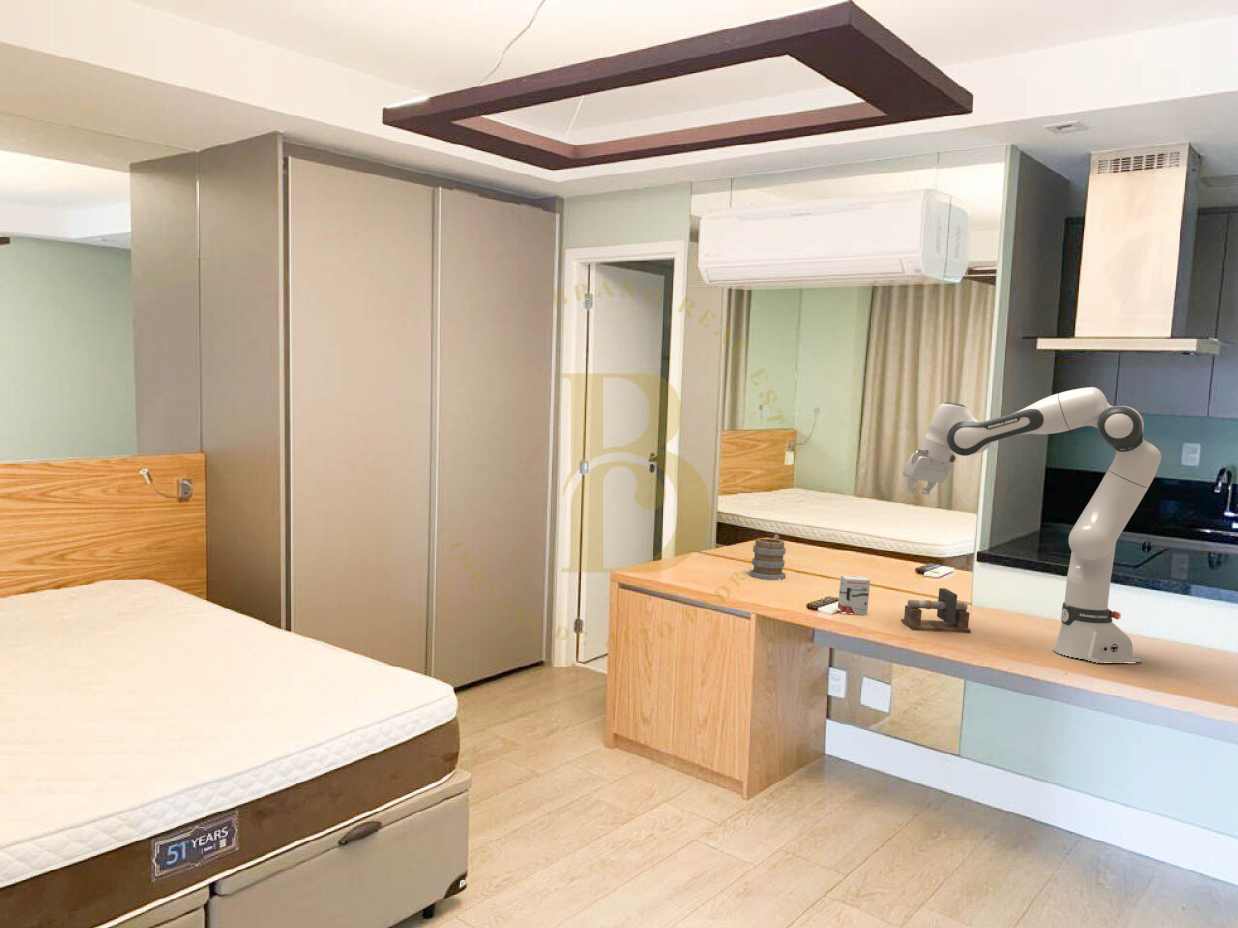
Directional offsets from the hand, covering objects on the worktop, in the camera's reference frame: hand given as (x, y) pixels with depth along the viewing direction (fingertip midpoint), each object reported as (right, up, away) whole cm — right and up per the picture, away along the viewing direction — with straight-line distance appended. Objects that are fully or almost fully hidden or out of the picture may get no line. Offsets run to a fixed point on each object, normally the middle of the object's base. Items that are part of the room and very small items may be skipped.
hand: (917, 493), depth 286 cm
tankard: (-35, -34, +69) cm, 84 cm away
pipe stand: (+6, -42, 0) cm, 42 cm away
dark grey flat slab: (+9, -39, 0) cm, 40 cm away
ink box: (-17, -40, +13) cm, 45 cm away
